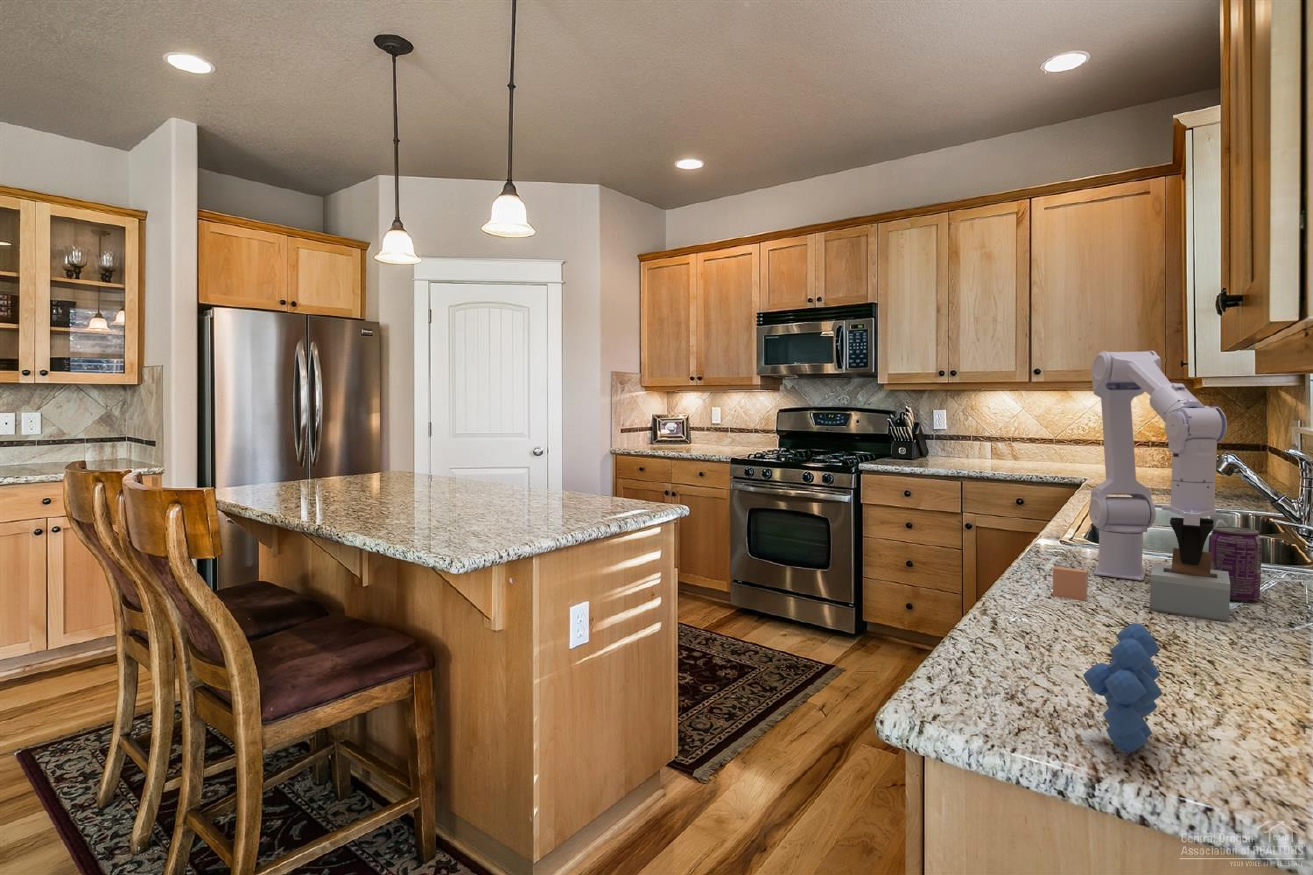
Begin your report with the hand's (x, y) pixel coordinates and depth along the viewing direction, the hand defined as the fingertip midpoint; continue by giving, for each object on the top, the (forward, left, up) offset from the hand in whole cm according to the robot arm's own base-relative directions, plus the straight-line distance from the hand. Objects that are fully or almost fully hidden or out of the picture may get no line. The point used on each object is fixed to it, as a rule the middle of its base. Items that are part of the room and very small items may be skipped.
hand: (1190, 562), depth 113 cm
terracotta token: (+4, -17, -8) cm, 19 cm away
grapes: (+60, -5, -8) cm, 61 cm away
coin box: (0, 0, -8) cm, 8 cm away
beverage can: (-13, +6, -8) cm, 16 cm away
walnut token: (0, 0, -3) cm, 3 cm away
